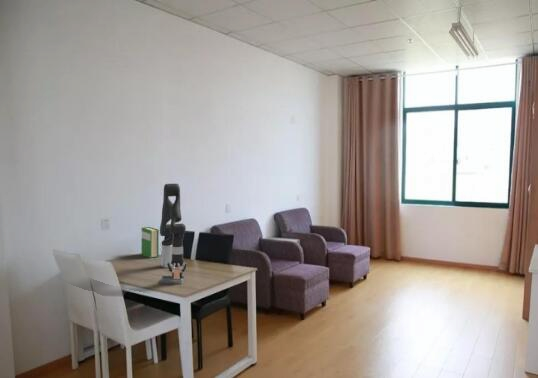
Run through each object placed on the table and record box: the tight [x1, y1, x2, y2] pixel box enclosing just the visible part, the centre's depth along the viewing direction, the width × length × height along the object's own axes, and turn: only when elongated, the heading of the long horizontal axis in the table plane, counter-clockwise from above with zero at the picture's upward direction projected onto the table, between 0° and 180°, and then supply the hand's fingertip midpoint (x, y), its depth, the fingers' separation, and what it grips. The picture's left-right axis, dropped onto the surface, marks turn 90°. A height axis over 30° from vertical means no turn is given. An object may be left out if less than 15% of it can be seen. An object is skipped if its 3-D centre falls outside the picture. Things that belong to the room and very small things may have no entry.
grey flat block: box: [158, 275, 185, 285], centre depth 269 cm, size 8×15×3 cm, turn 90°
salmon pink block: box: [174, 268, 180, 279], centre depth 269 cm, size 4×4×7 cm
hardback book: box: [141, 226, 160, 259], centre depth 343 cm, size 18×7×24 cm, turn 42°
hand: (177, 277), depth 269 cm, fingers closed on salmon pink block, 3 cm apart
